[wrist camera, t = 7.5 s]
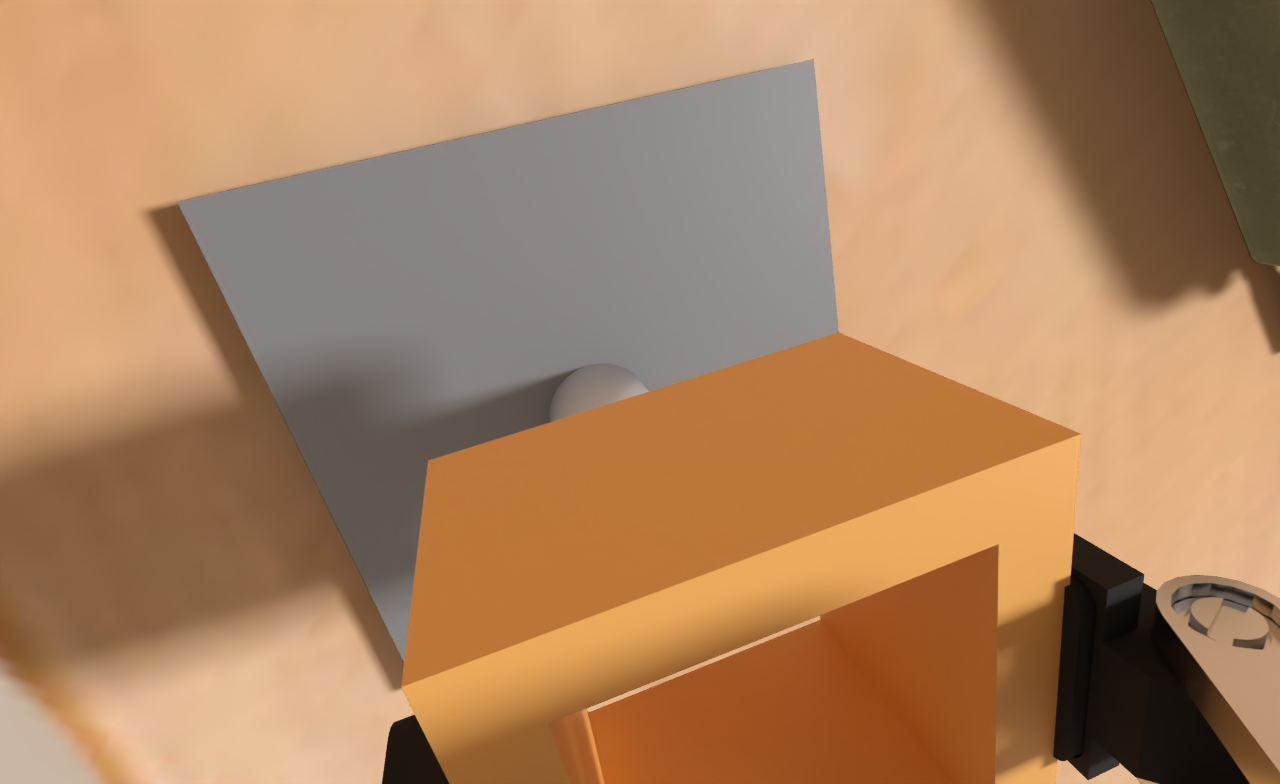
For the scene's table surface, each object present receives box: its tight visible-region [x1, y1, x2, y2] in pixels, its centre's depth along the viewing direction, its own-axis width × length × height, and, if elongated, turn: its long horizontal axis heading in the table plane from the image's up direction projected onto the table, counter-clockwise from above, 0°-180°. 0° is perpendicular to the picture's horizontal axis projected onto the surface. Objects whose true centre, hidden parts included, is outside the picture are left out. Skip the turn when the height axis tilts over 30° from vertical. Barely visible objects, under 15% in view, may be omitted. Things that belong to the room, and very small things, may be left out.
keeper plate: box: [178, 59, 839, 662], centre depth 16 cm, size 16×16×7 cm
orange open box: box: [401, 333, 1081, 784], centre depth 9 cm, size 7×7×4 cm
